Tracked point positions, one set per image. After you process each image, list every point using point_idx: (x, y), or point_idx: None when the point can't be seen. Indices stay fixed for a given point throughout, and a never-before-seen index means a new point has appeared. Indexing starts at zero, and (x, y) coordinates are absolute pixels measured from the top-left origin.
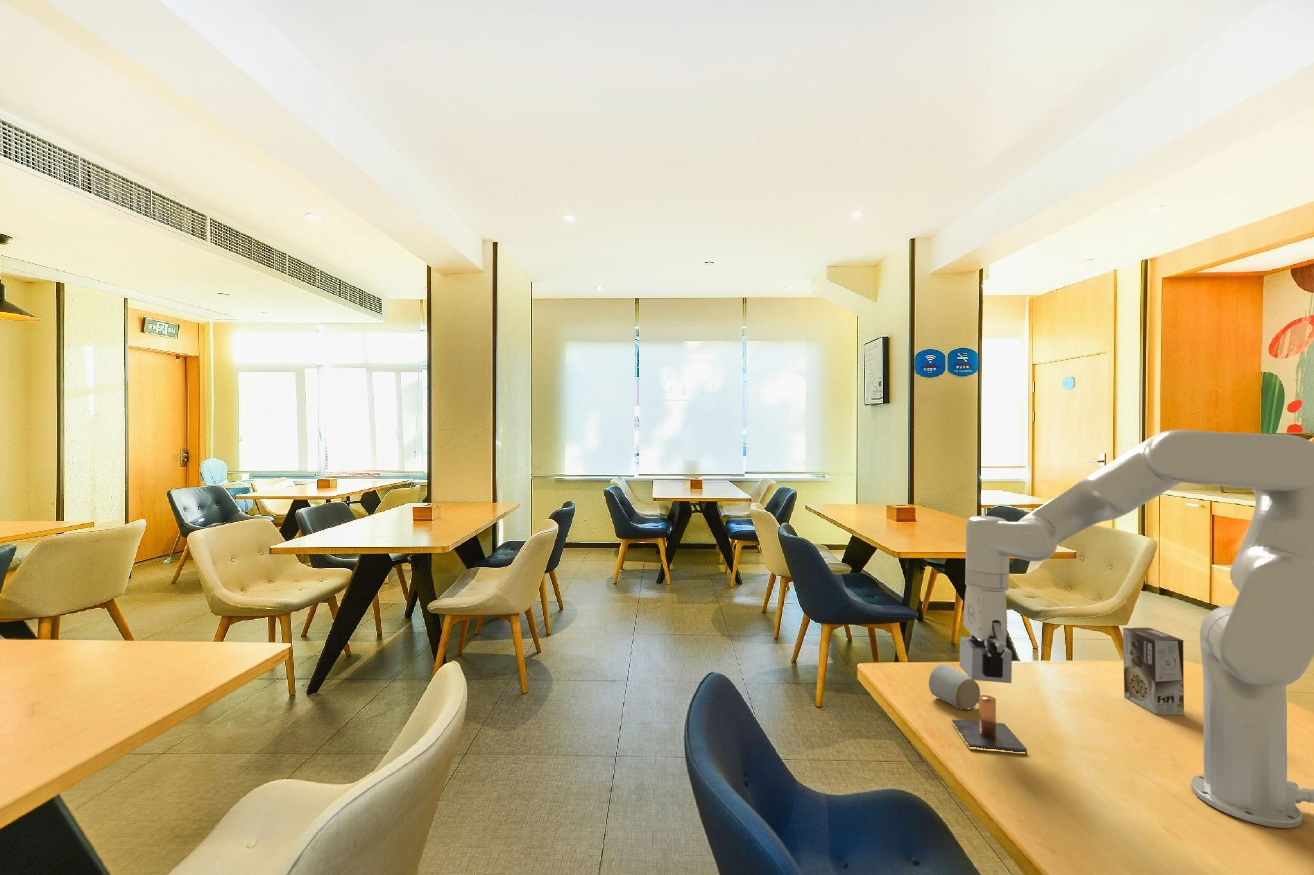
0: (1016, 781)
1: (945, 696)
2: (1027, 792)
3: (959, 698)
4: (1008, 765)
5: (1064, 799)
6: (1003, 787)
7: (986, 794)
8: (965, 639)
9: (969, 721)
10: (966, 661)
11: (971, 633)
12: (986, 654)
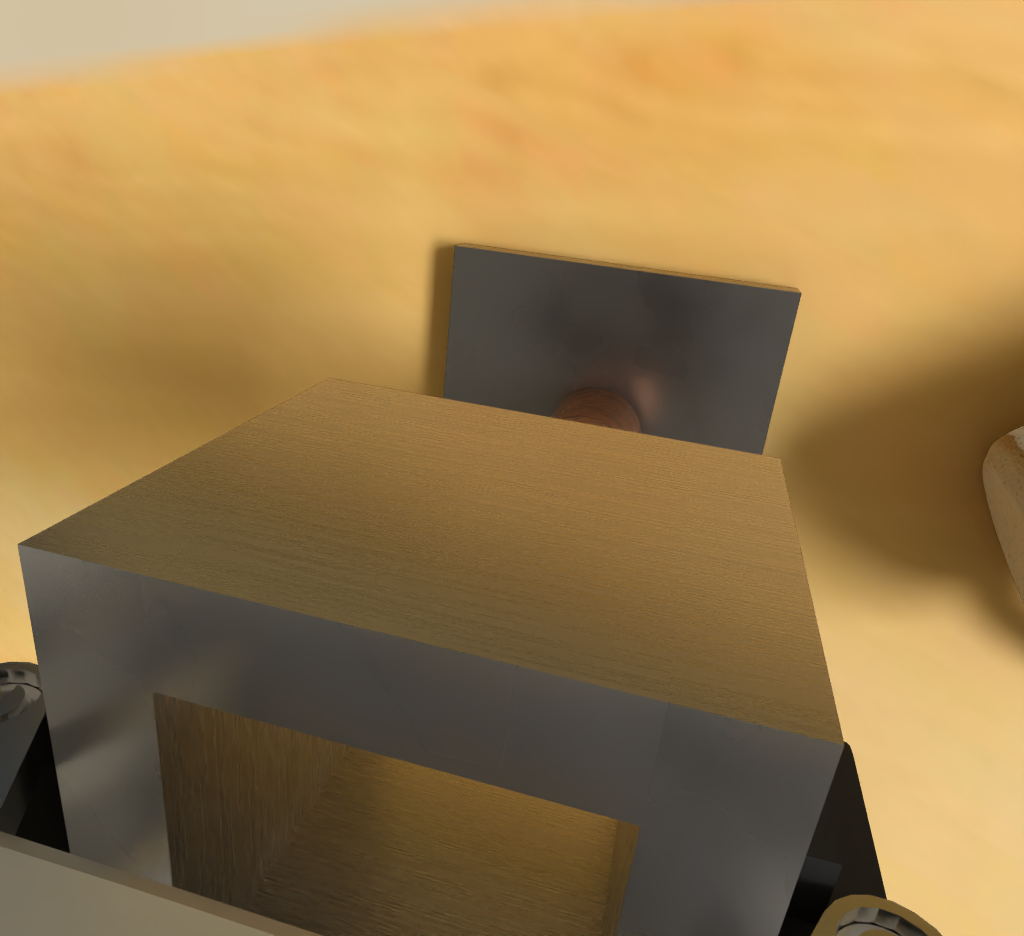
0: (196, 333)
1: None
2: (121, 331)
3: (996, 459)
4: (329, 377)
5: (110, 457)
6: (133, 238)
7: (56, 117)
8: (620, 750)
9: (761, 403)
10: (473, 468)
11: (167, 913)
12: (38, 687)
